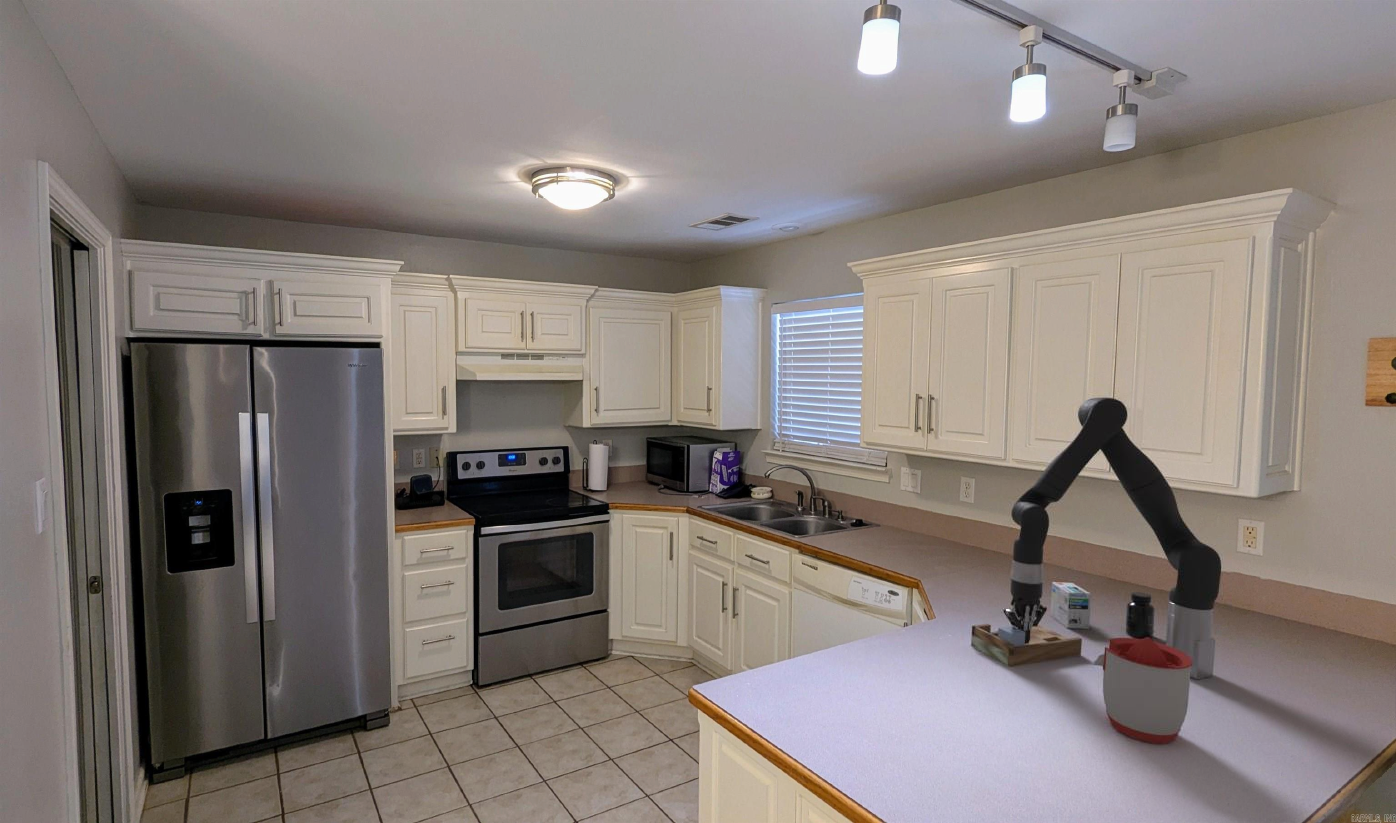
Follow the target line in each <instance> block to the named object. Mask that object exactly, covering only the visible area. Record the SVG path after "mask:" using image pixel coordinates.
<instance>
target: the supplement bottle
mask: <svg viewBox="0 0 1396 823" xmlns="http://www.w3.org/2000/svg"><path fill="white" fill-rule="evenodd" d="M1130 600H1131V601H1128V602H1127V603H1126V618H1125V633H1126V634H1127V635H1128V636H1130V637H1131V638H1136V639H1144V638H1146V637H1148V638H1150V639H1153V638H1154V632H1155V631H1154V630H1155V615H1156V614H1155V613H1156V612H1155V610H1156V609H1155V607H1154V605H1152V604H1151V603H1152V595H1151V594H1149V593H1145V592H1140V591H1134V592H1131V596H1130Z"/></svg>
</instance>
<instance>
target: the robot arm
mask: <svg viewBox="0 0 1396 823" xmlns="http://www.w3.org/2000/svg"><path fill="white" fill-rule="evenodd" d="M1077 418H1078V421H1079V423H1080V426H1081V429H1080V431H1079V432H1078V433H1077V435H1076V437H1075V438H1074V439H1073V440H1072V441H1071V442H1070V443H1069V445H1067V446H1066V447H1065V448H1064V449H1063V450H1062V451H1061V452H1060V453H1058V455H1057V456H1055V458H1054V459H1052V460H1051V462H1050V463H1049V464H1048V465H1047V467H1046V468H1045V469H1044V471H1043V472H1042V474H1040V476H1039V477H1038V479H1036V482H1035V483H1034V484H1033V485H1032V486H1031V487H1030V488H1029V489H1028V490H1026V491H1025V492H1024V493H1023V494H1022V495H1021V496H1020V497H1019V498H1018V499H1017V500H1016V502H1015V503H1014V505H1013V506H1012V509H1011V518H1012V521H1013V522H1014V523H1015V524H1017V525H1018V526H1019V527H1020V531H1019V537H1017V538H1015V540H1014V542H1013V549H1012V550H1013V552H1012V553H1013V555H1012V564H1011V574H1010V576H1011V577H1010V589H1009V590H1010V591H1009V592H1010V595H1011V596H1012V598H1011V602H1010V606H1009V607H1008V609H1007V608H1004V609H1003V613H1004V615H1005V617H1006V618H1007V620H1008V622H1009V623H1010V625H1011V626H1013V627H1015V628H1018V629H1020V630H1022V631H1024V632H1025V644H1027V643H1029V641H1030V631H1031V629H1032V627H1034V626H1035V627H1036V626H1038V625H1039V623H1040V622H1041V620H1042V619H1043V617H1044V615H1045V613H1046V612H1047V611H1048V607H1046V606H1044V605H1042V604H1041V600H1040V599H1041V598H1042V597H1043V584H1044V566H1043V562H1044V545H1045V543H1046V539H1047V535H1048V531H1049V529H1050V516H1049V513H1048V511H1047V510H1046V508H1047V507H1048V506H1049V505H1050V504H1052V503H1057V502H1059V501H1060V500H1061V499H1062V497H1064V495H1065V494H1066V492H1067V491H1068V489H1069V488H1070V487H1071V486H1072V484H1073V483H1074V482H1075V480H1076V479H1077V477H1078V476H1079V475H1080V473H1081V472H1082V471H1083V469H1084V468H1085V467H1086V466H1087V465H1088V463H1089V462H1090V461H1091V460H1092V459H1093V457H1094V456H1095V455H1096V454H1098V452H1099V451H1100V450H1101V452H1102V454H1103V455H1104V457H1105V459H1106V461H1107V462H1108V464H1109V465H1110V466H1109V467H1111V469H1112V471H1113V473H1114V475H1115V476H1116V478H1117V479H1118V480H1119V482H1120V485H1121V486H1122V488H1123V490H1124V491H1125V492H1126V494H1127V495H1128V496H1127V497H1128V498H1129V499H1130V500H1131V502H1132V504H1133V505H1134V506H1135V508H1136V509H1137V510H1138V513H1140V515H1141V516H1142V517H1143V519H1144V520H1145V521H1146V522H1147V524H1148V525H1149V526H1150V528H1151V529H1152V531H1153V533H1154V535H1155V537H1156V538H1157V540H1158V543H1159V544H1160V546H1161V548H1162V551H1163V553H1164V555H1165V556H1166V559H1167V561H1168V563H1169V564H1170V565H1171V566H1172V568H1173V569H1174V570H1176V571H1177V578H1176V583H1175V584H1176V585H1175V587H1173V588H1171V589H1170V590H1169V595H1168V610H1167V611H1168V612H1167V623H1166V636H1165V638H1166V639H1165V645H1167V646H1170V647H1172V648H1175V649H1177V650H1179V651H1181V652H1183V653H1185V654H1187V655H1188V656H1189V657H1190V658H1191V659H1192V661H1193V664H1192V666H1191V671H1190V678H1193V679H1194V680H1195V679H1196V680H1198V679H1199V680H1200V679H1205V678H1209V677H1213V676H1214V666H1215V664H1214V662H1215V650H1216V639H1215V637H1212V634H1213V633H1212V632H1213V621H1214V607H1215V601H1216V600H1217V598H1218V596H1219V592H1220V584H1221V576H1222V561H1221V560H1222V559H1221V557H1220V555H1219V553H1218V552H1217V551H1216V550H1215V549H1214V548H1213V547H1211V546H1209V545H1208V544H1205V543H1203V542H1201V541H1200V540H1199V539H1198V538H1197V537H1196V536H1195V535H1194V533H1193V532H1192V531H1191V529H1190V528H1189V527H1188V526H1187V524H1186V523H1185V521H1184V519H1183V518H1182V516H1181V513H1180V511H1179V506H1178V503H1177V500H1176V497H1175V494H1174V491H1173V489H1172V488H1171V486H1170V484H1169V483H1168V481H1167V480H1166V478H1165V477H1164V475H1163V473H1162V471H1160V469H1159V468H1158V466H1157V465H1156V464H1155V463H1154V462H1153V461H1152V460H1151V459H1150V458H1149V457H1148V456H1147V455H1146V454H1145V453H1144V452H1143V451H1142V450H1141V449H1139V448H1138V446H1136V445H1135V443H1134V442H1133V441H1132V440H1131V439H1130V438H1129V436H1128V435H1127V433H1126V431H1125V430H1124V428H1123V427H1124V426H1125V424H1126V423H1127V421H1128V411H1127V407H1126V406H1125V404H1124V403H1123V402H1122V401H1121V400H1118V399H1116V398H1113V397H1092V398H1089V399H1087V400H1085V401H1083V402H1082V403H1081V405H1080V406H1079V408H1078V412H1077Z"/></svg>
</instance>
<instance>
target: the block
mask: <svg viewBox="0 0 1396 823" xmlns="http://www.w3.org/2000/svg"><path fill="white" fill-rule="evenodd" d="M997 630H998V637H999V638H1001V639H1003V640H1005V641H1007V642H1009V643H1011V644H1013V645H1014V647H1018V646H1024V645H1025V632H1024V631H1022V630H1020V629H1018V628H1017V627H1014V626H1012V625H1009V626H1007V625H1006V626H1001V627H998V629H997Z"/></svg>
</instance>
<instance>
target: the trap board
mask: <svg viewBox="0 0 1396 823" xmlns="http://www.w3.org/2000/svg"><path fill="white" fill-rule="evenodd" d="M991 627H992V625H991V624H990V623H984V624H977V625H972V626H971V638H970V639H971V641H970V642H971V643H970V646H971V647H973V648H974V649H977V650H979V651H980V652H983V653H984V654H986V655H988V656H990V657H991V658H993V659H996V660H998V661H999V662H1002V663H1003V664H1005V665H1006V666H1009V667H1018V666H1023V665H1028V664H1029V665H1030V664H1035V663H1042V662H1046V661H1047V662H1048V661H1053V660H1054V661H1055V660H1059V659H1066V658H1071V657H1072V658H1073V657H1077V656H1081V655H1082V644H1083V643H1082V642H1083V638H1082V637H1079V636H1077V637H1071V638H1068V637H1066V636H1064V635H1061V634H1060V633H1057V632H1055V631H1053V630H1051V629H1049V628H1046V627H1044V626H1041V625H1039V624H1038V625H1037V626H1036V627H1035V626H1034V627H1032V629H1031V631H1030V641H1029V643H1027V644H1025V645H1024V646H1018V647H1014V645H1013V644H1011V643H1009V642H1007V641H1005V640H1003V639H1001V638H999V637H998V631H996V630H995V631H991Z"/></svg>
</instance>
